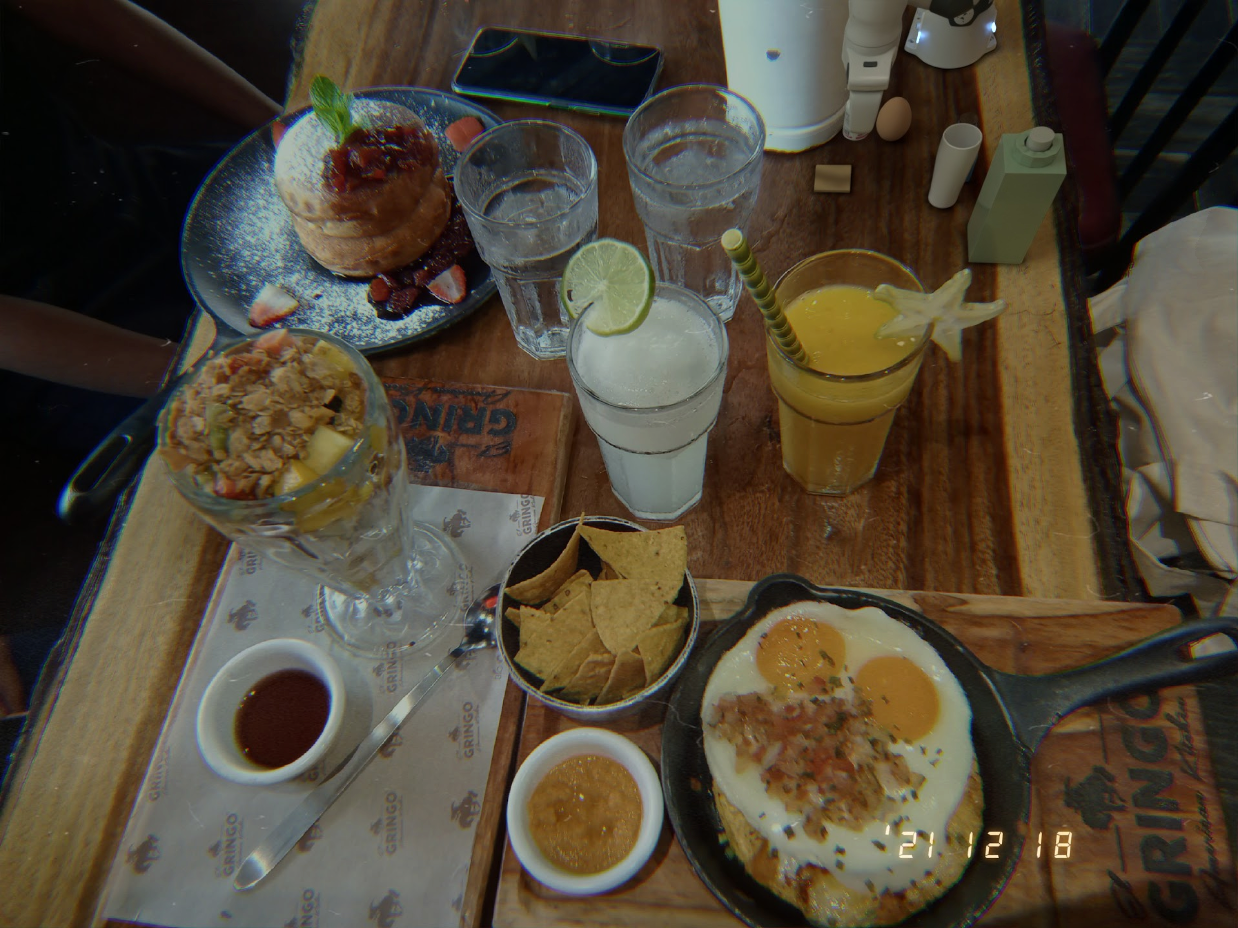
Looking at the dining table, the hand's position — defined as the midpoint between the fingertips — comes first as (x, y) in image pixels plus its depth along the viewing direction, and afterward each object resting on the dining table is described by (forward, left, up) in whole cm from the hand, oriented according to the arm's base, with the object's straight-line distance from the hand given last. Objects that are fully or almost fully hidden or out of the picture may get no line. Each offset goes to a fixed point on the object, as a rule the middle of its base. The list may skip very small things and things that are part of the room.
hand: (858, 118), depth 133 cm
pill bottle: (0, 0, -3) cm, 3 cm away
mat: (-3, -3, -17) cm, 17 cm away
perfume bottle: (-6, +20, -17) cm, 27 cm away
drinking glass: (+2, +18, -17) cm, 25 cm away
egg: (-15, +8, -17) cm, 24 cm away
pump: (+13, +27, +6) cm, 31 cm away
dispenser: (+13, +27, -17) cm, 35 cm away
